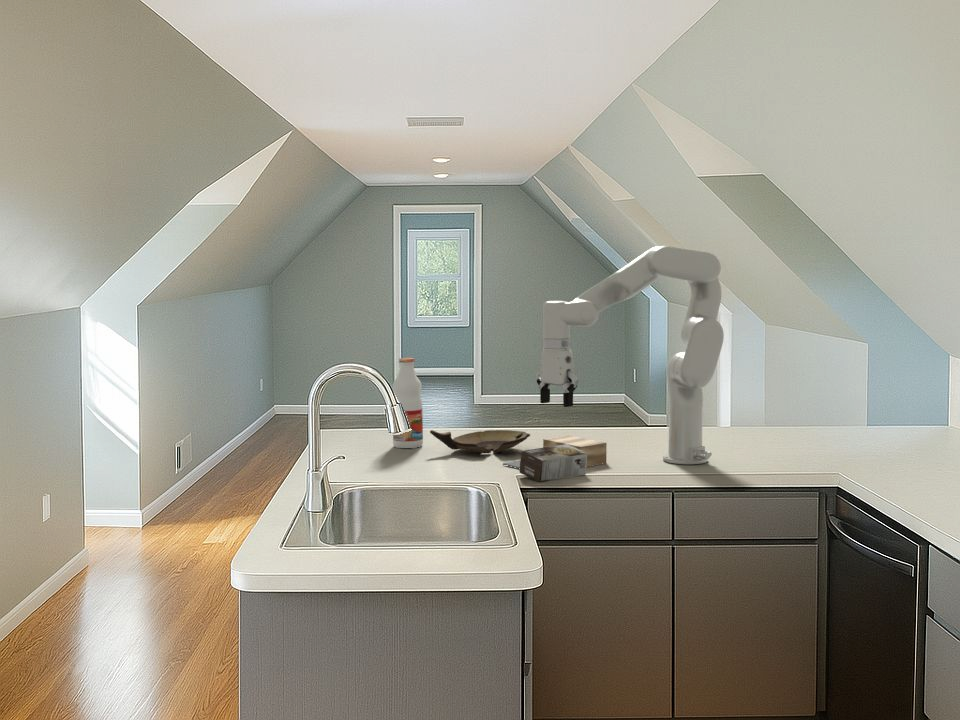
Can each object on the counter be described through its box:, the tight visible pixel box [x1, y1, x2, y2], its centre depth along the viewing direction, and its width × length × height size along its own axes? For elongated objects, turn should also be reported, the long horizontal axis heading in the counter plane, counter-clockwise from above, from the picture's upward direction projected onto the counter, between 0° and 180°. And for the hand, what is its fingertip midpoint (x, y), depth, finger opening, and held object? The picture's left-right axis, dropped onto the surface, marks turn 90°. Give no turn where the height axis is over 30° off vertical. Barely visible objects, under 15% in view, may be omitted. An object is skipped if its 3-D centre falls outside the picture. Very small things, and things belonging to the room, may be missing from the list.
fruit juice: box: [392, 357, 424, 449], centre depth 311 cm, size 9×9×28 cm
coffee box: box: [519, 444, 588, 483], centre depth 267 cm, size 9×6×16 cm
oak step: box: [542, 435, 608, 468], centre depth 286 cm, size 16×10×6 cm, turn 38°
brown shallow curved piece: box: [429, 429, 531, 454], centre depth 303 cm, size 22×30×8 cm
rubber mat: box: [502, 459, 521, 469], centre depth 279 cm, size 18×14×1 cm
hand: (556, 404), depth 280 cm, fingers open, 9 cm apart
